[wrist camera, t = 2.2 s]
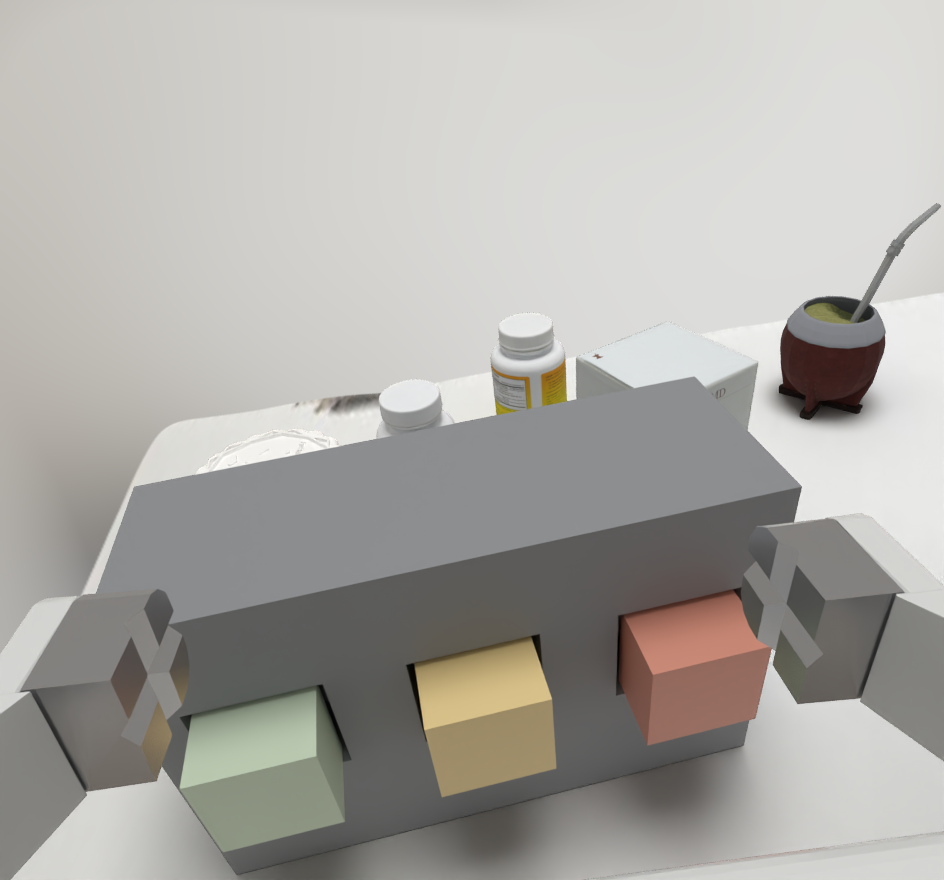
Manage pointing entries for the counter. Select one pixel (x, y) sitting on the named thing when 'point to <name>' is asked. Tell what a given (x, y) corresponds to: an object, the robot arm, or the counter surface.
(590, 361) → the supplement box
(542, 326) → the supplement bottle
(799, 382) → the mate gourd
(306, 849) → the console
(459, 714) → the button ochre
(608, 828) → the counter surface
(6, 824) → the robot arm
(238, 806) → the button sage
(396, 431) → the supplement bottle
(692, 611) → the button brick
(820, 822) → the counter surface
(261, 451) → the mooncake
